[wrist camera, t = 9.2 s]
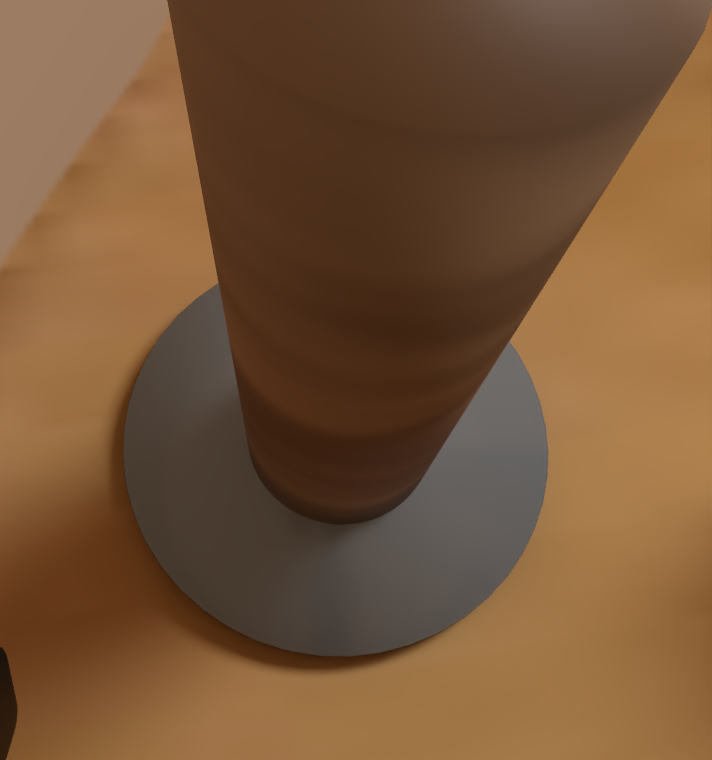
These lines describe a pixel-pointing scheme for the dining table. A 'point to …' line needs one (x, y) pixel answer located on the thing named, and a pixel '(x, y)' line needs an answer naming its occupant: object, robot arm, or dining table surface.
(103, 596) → the dining table surface
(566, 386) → the dining table surface
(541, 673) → the dining table surface
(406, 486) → the pepper mill
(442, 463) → the coaster
